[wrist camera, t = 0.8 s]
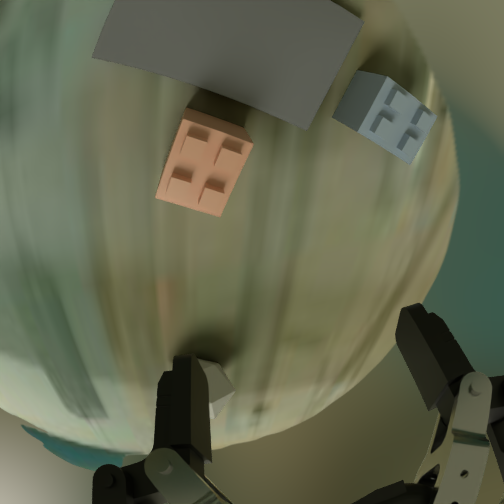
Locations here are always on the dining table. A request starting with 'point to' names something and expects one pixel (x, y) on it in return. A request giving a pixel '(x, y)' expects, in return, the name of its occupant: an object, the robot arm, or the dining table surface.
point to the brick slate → (385, 114)
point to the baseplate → (237, 48)
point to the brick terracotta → (203, 162)
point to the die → (217, 386)
